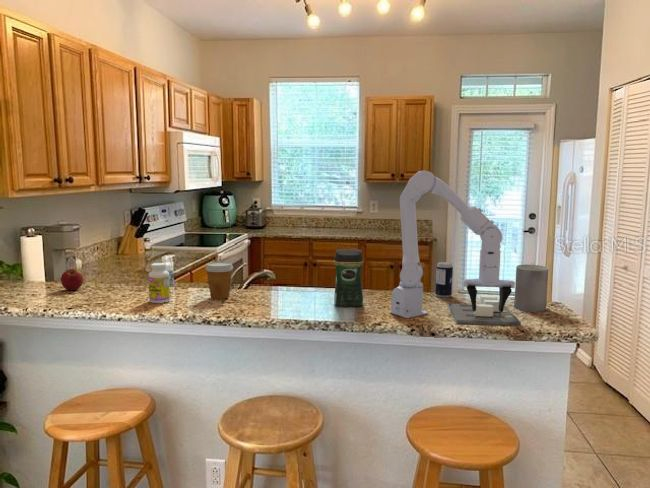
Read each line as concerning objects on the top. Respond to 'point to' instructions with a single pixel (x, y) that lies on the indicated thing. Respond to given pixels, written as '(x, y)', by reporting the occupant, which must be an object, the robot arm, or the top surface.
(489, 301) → the handle middle
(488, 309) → the handle
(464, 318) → the breaker panel
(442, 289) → the beverage can
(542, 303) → the pillar candle
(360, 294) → the coffee jar
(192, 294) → the top surface
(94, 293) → the top surface
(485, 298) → the handle far
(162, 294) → the supplement bottle
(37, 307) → the top surface
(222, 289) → the disposable coffee cup
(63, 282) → the apple
